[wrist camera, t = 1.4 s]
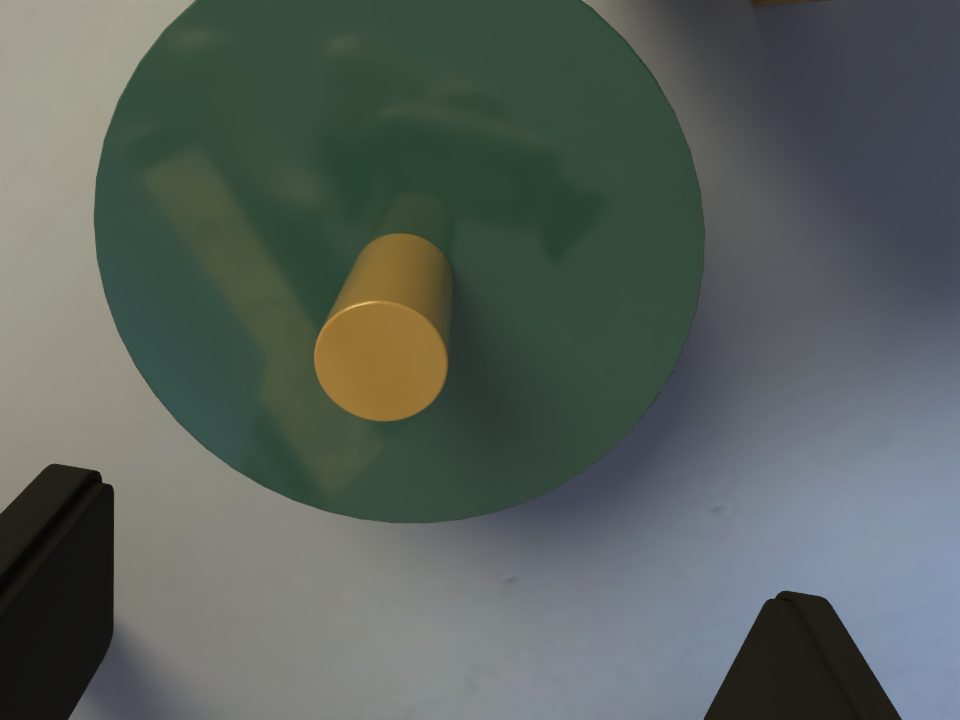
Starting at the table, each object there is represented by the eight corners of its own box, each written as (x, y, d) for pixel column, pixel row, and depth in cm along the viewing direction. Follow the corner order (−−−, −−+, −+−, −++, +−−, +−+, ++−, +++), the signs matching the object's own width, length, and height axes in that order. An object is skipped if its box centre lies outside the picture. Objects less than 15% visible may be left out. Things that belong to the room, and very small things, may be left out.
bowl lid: (112, 455, 24) (-6, 596, 18) (112, -144, 17) (-85, -235, 11) (598, 539, 26) (635, 693, 20) (786, 30, 19) (934, 33, 13)
